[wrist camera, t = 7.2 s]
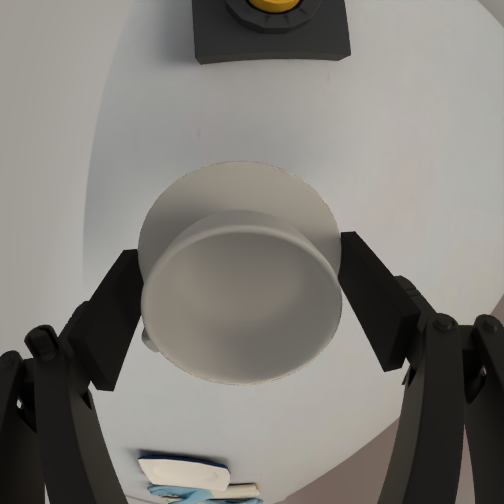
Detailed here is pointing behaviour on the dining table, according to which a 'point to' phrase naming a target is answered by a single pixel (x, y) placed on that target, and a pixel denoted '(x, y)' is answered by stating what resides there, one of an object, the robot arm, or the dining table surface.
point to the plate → (185, 472)
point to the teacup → (240, 273)
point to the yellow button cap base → (269, 31)
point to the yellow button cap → (274, 5)
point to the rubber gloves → (206, 494)
